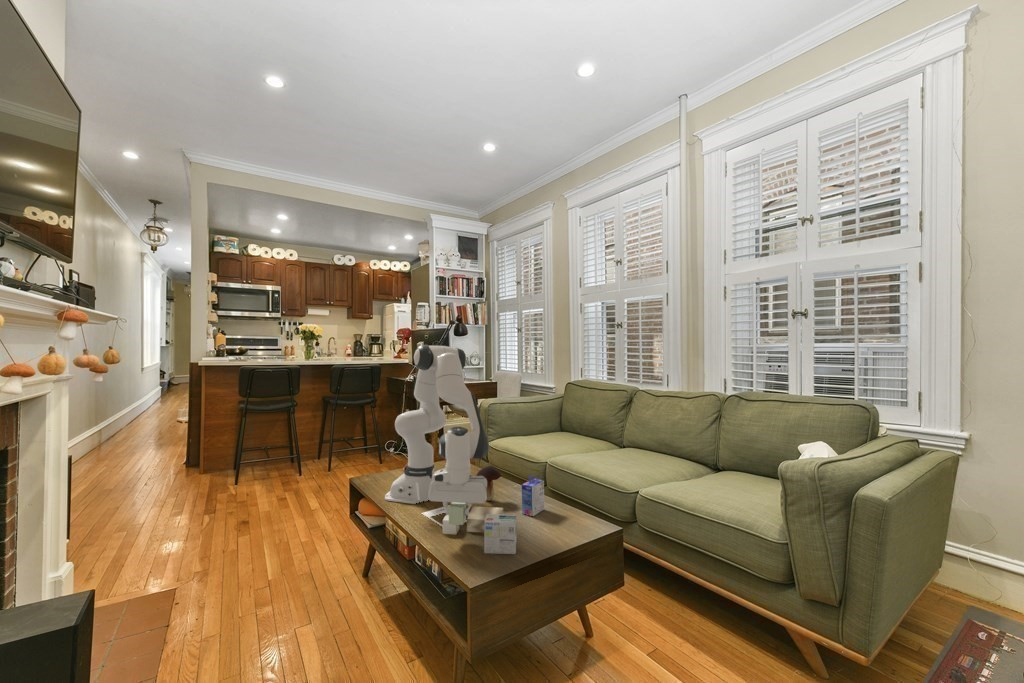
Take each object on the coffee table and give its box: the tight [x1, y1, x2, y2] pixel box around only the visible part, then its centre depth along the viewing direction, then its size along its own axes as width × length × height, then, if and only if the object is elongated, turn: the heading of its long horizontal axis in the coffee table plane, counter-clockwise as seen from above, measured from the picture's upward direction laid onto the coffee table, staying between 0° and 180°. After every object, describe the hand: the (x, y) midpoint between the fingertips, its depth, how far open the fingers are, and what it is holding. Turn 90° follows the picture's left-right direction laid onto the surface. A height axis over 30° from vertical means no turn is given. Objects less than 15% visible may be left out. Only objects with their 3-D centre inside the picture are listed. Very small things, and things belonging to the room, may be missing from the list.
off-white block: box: [442, 514, 460, 535], centre depth 159 cm, size 5×5×5 cm
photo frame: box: [420, 504, 467, 528], centre depth 172 cm, size 15×1×18 cm
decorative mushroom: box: [475, 465, 502, 502], centre depth 190 cm, size 11×11×15 cm
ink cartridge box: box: [521, 474, 545, 517], centre depth 178 cm, size 10×6×14 cm, turn 147°
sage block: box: [448, 502, 467, 526], centre depth 151 cm, size 5×5×6 cm
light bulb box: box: [483, 513, 518, 555], centre depth 145 cm, size 11×7×11 cm, turn 88°
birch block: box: [466, 506, 504, 533], centre depth 164 cm, size 12×12×5 cm
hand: (457, 514), depth 152 cm, fingers closed on sage block, 5 cm apart
